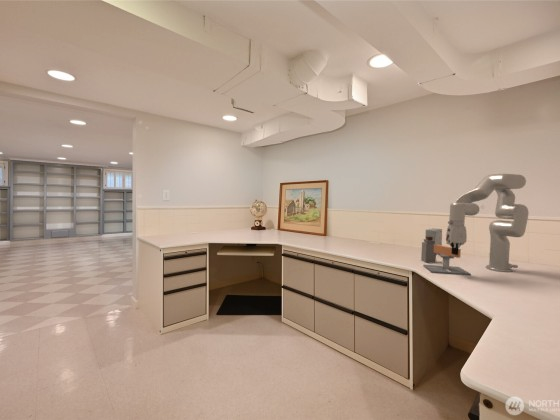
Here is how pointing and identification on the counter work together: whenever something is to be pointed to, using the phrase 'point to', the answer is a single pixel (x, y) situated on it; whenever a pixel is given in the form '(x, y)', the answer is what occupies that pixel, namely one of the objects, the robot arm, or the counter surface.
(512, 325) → the counter surface
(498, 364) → the counter surface
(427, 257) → the perfume bottle
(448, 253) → the orange brown block
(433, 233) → the hard drive box
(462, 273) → the post board
